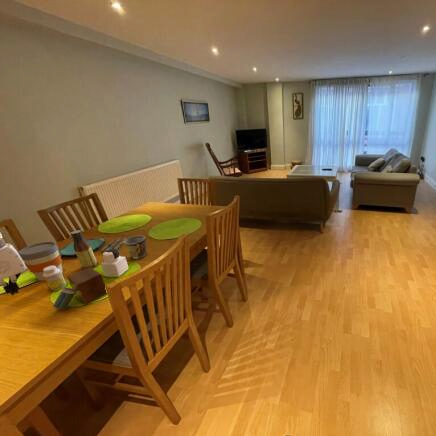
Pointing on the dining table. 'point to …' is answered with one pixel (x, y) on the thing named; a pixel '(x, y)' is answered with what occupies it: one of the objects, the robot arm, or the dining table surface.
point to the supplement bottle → (53, 278)
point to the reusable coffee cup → (41, 258)
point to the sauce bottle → (83, 250)
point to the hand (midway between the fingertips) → (14, 292)
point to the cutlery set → (92, 242)
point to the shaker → (64, 298)
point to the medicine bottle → (113, 263)
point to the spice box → (87, 285)
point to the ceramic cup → (136, 246)
